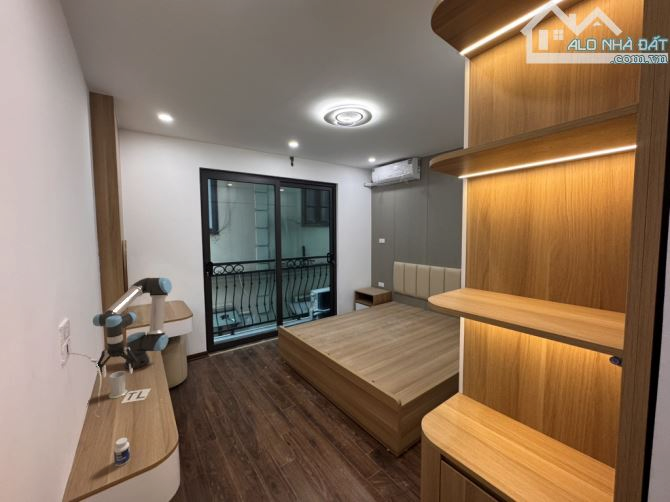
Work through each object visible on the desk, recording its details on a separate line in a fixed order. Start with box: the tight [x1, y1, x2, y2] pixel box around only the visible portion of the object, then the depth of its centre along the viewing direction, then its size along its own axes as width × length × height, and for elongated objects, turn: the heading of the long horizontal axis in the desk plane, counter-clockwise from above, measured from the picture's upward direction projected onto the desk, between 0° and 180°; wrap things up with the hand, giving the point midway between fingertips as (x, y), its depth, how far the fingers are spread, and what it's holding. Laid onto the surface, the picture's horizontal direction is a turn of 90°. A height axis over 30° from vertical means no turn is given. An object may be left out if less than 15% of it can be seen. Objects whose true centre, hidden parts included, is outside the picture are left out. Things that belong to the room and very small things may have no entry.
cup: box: [108, 370, 127, 396], centre depth 168 cm, size 8×8×12 cm
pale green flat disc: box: [108, 388, 129, 400], centre depth 169 cm, size 9×9×1 cm
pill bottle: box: [113, 437, 131, 467], centre depth 120 cm, size 5×5×10 cm
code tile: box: [120, 388, 152, 404], centre depth 168 cm, size 12×12×1 cm
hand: (118, 374), depth 169 cm, fingers open, 13 cm apart
